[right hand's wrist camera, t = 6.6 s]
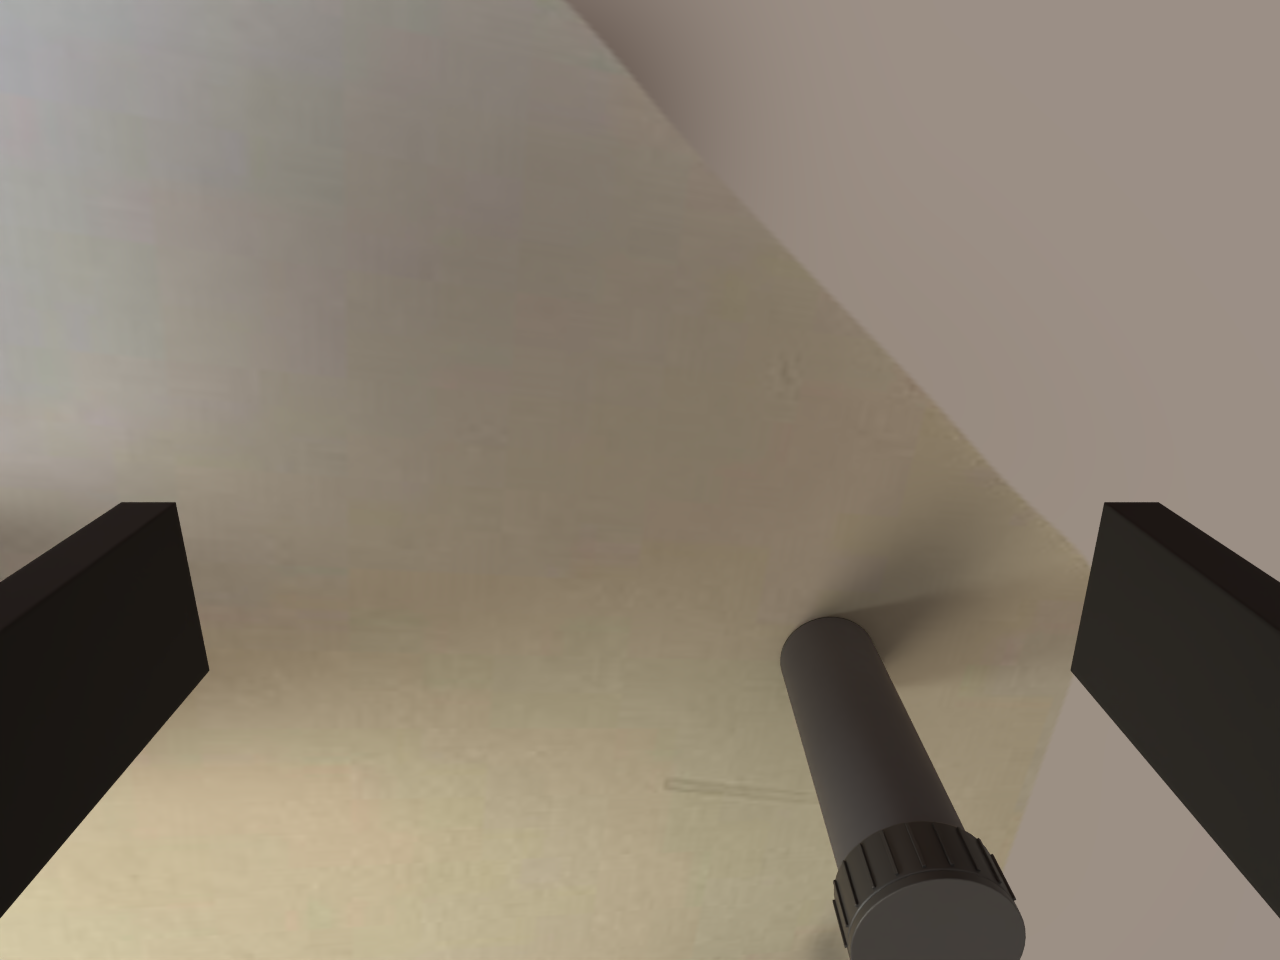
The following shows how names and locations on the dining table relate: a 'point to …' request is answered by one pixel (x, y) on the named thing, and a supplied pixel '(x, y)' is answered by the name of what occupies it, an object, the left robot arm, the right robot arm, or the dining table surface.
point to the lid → (926, 897)
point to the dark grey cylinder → (857, 736)
